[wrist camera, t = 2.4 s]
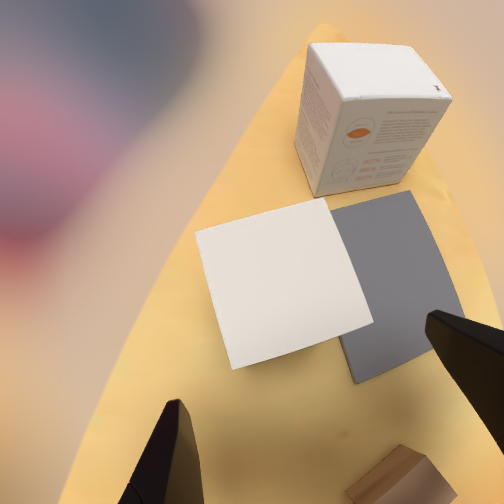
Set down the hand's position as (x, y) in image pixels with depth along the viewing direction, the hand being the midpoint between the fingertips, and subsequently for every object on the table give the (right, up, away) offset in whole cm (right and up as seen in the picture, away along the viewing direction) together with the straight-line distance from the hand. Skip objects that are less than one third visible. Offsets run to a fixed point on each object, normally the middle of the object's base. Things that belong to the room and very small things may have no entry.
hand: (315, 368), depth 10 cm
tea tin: (-1, -1, +11) cm, 11 cm away
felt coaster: (+8, +2, +12) cm, 14 cm away
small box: (+6, +11, +16) cm, 20 cm away
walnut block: (+8, -13, +7) cm, 16 cm away
